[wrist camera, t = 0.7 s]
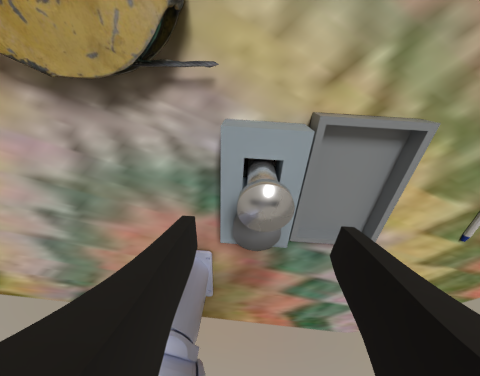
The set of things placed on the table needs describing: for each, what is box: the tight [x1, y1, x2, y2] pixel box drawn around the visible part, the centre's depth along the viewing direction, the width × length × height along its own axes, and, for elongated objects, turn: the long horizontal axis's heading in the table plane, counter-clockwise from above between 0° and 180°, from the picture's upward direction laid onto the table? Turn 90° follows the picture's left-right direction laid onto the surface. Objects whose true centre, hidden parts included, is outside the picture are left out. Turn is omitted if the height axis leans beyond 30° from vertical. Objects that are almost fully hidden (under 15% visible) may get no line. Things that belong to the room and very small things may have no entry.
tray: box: [289, 112, 441, 244], centre depth 18 cm, size 13×9×2 cm
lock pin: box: [237, 158, 295, 232], centre depth 15 cm, size 4×4×8 cm
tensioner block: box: [220, 119, 315, 251], centre depth 18 cm, size 12×7×4 cm, turn 177°
